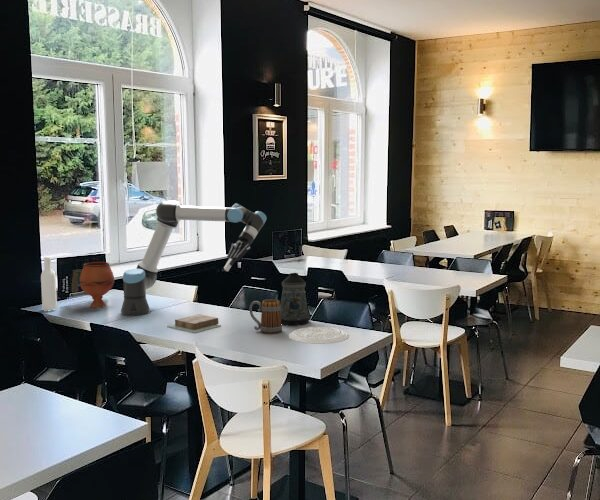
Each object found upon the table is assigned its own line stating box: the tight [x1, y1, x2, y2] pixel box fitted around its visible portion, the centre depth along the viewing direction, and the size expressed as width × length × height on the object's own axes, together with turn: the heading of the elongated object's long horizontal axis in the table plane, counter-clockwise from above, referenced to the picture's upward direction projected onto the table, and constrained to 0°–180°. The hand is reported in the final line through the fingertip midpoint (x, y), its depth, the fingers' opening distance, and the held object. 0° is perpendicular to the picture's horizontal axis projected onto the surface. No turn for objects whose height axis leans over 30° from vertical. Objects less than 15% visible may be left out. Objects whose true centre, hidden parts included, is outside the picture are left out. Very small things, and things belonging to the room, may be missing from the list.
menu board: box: [174, 314, 219, 330], centre depth 323 cm, size 14×3×16 cm
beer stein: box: [280, 272, 311, 327], centre depth 330 cm, size 16×19×25 cm
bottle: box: [40, 256, 58, 312], centre depth 361 cm, size 8×8×30 cm
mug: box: [248, 298, 283, 335], centre depth 311 cm, size 16×11×15 cm
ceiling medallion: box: [288, 326, 350, 345], centre depth 303 cm, size 28×28×3 cm
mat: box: [167, 323, 222, 334], centre depth 322 cm, size 20×18×1 cm
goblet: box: [79, 261, 115, 308], centre depth 372 cm, size 19×19×25 cm
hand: (225, 269), depth 340 cm, fingers closed
